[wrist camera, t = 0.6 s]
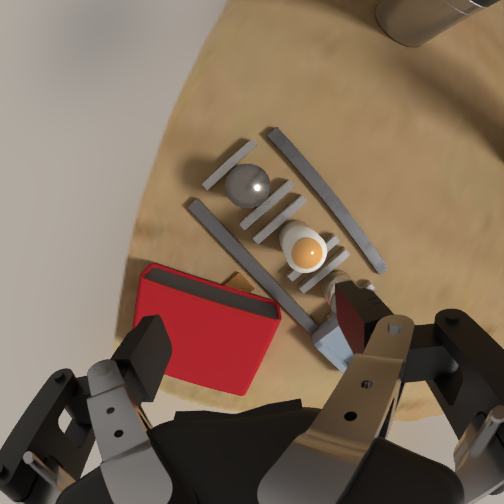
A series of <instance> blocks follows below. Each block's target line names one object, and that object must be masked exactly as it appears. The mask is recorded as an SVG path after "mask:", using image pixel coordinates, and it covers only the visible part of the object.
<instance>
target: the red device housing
mask: <svg viewBox="0 0 504 504" xmlns="http://www.w3.org/2000/svg"><path fill="white" fill-rule="evenodd" d="M157 314H158V315H160V316H161V318H162V320H163V323H164V326H165V328H166V331H167V333H168V336H169V338H170V341H171V344H172V356H171V358H170V360H169V363H168V365H167V368H166V370H165V373H164V374H165V375H168V376H171V377H174V378H177V379H180V380H184V381H187V382H190V383H193V384H197V385H200V386H204V387H207V388H211V389H215V390H219V391H223V392H227V393H231V394H235V395H239V396H244V395H245V394H246V392H247V390H248V388H249V386H250V384H251V382H252V380H253V378H254V376H255V374H256V372H257V370H258V368H259V366H260V364H261V362H262V360H263V358H264V356H265V353H266V351H267V349H268V347H269V345H270V343H271V341H272V339H273V336H274V334H275V332H276V330H277V328H278V325H279V323H280V321H281V312H280V306H279V304H278V303H277V302H275V301H273V300H269V299H266V298H262V297H259V296H256V295H252V294H249V293H246V292H242V291H239V290H236V289H233V288H229V287H226V286H223V285H220V284H216V283H213V282H210V281H207V280H204V279H201V278H198V277H195V276H192V275H189V274H185V273H182V272H179V271H176V270H173V269H170V268H167V267H165V266H162V265H159V264H155V263H152V264H150V265H149V266H148V267H147V268H146V269H145V270H144V271H143V272H142V273H141V274H140V280H139V286H138V292H137V299H136V306H135V314H134V322H133V329H134V328H135V327H136V326H137V325H138V323H139V322H140V320H141V319H142V317H144V316H150V315H157Z"/></svg>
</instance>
